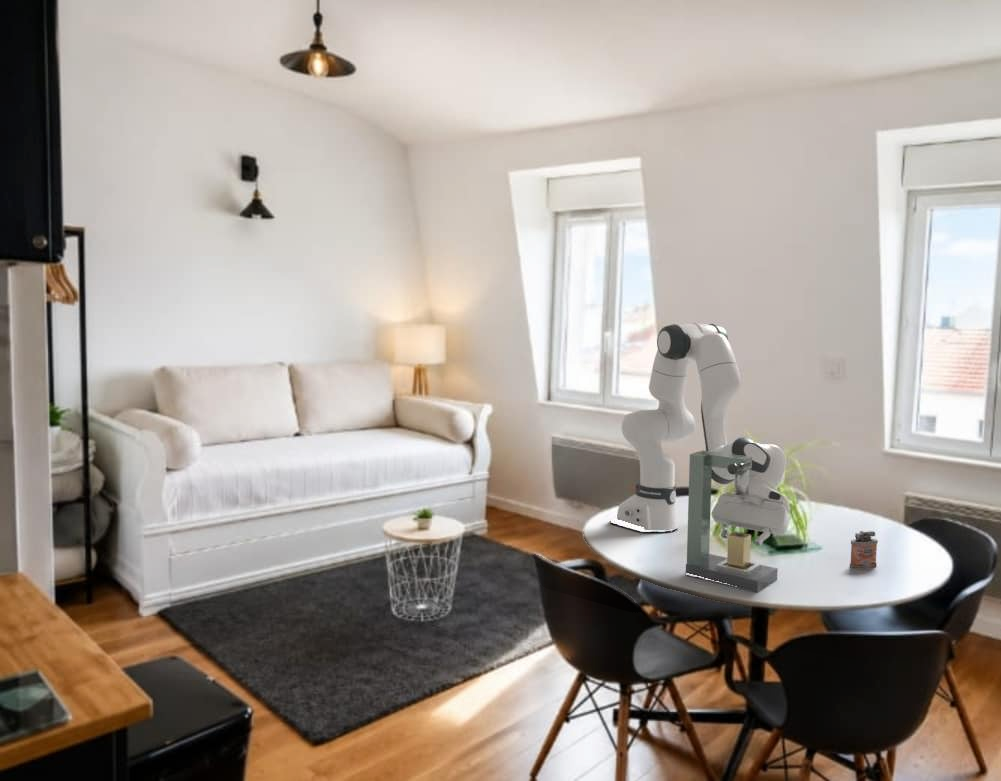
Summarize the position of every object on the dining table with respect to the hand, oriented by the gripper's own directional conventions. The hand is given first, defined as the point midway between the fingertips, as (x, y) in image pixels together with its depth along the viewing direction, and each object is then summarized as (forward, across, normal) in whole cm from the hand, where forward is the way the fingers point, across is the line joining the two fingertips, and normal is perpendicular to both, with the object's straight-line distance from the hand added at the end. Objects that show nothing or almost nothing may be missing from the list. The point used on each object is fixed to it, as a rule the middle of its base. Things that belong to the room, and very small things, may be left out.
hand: (740, 540), depth 214 cm
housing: (+6, 0, +4) cm, 7 cm away
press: (+10, -2, +5) cm, 11 cm away
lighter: (-15, +22, +30) cm, 40 cm away
